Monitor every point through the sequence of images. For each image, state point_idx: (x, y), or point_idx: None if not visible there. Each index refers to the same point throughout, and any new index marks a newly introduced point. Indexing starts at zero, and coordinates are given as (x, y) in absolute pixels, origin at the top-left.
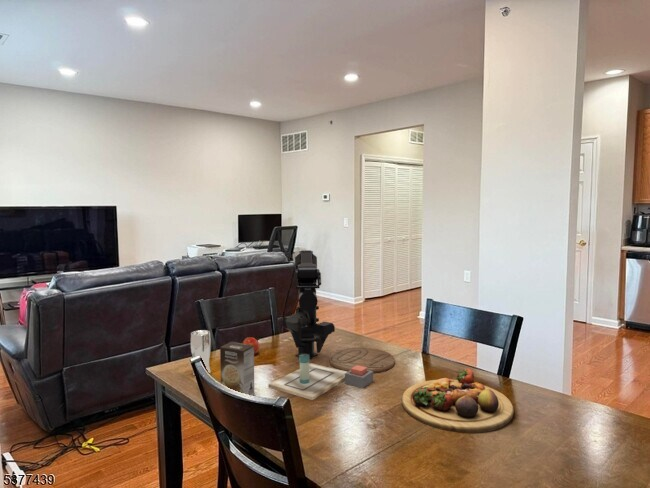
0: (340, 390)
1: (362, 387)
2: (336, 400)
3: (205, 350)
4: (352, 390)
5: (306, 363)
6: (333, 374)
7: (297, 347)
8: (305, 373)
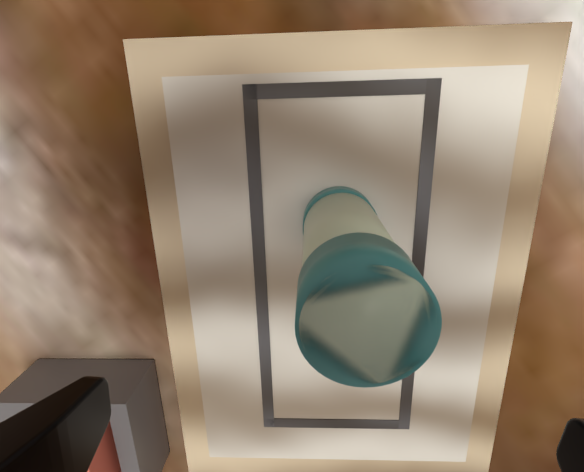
0: (108, 272)
1: (40, 361)
2: (22, 139)
3: None
4: (59, 307)
5: (307, 262)
6: (254, 405)
7: (568, 421)
8: (312, 219)
